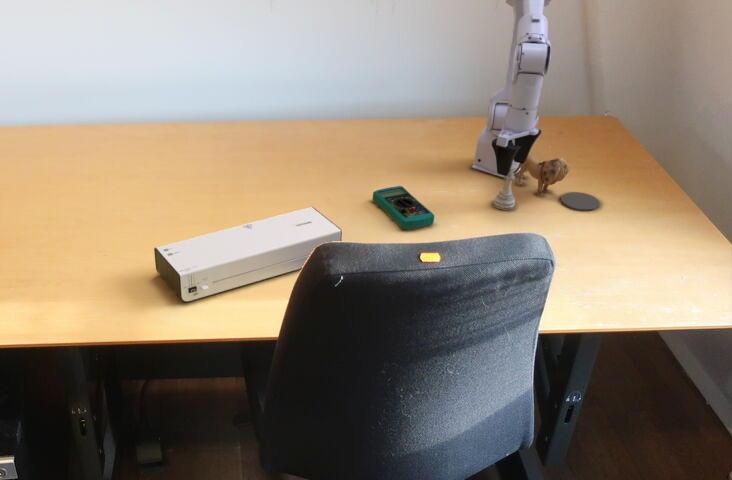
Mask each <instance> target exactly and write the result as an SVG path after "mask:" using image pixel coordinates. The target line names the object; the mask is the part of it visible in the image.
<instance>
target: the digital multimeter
mask: <svg viewBox="0 0 732 480" xmlns="http://www.w3.org/2000/svg"><path fill="white" fill-rule="evenodd" d="M372 201H373V202H374V203H375V204H376V205H378V206H379V207H380V208H381V209H382V210H383V211H384V212H385V213H386V214H387V215H388V216H389V217H390V218H391V219H392V220H393V221H394V222H395V223H396V224H397V225H398V226H399V227H400V228H401V229H402V230H403V231H404V230H411V229H418V228H424V227H426V226H430V225H432V224H434V222H435V221H434V220H435V214H434V213H433V212H432V211H431V210H429V209H428V208H427V207H426V206H425V205H424V204H422V203H421V201H419V200H418V199H416V198H415V196H413V195H412V194H411V193H410V192H409V191H408V190H407V189H406V188H405V187H404V186H402V185H397V186H390V187H385V188H381V189H377V190H375V191H373V192H372Z"/></svg>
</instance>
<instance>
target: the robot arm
mask: <svg viewBox="0 0 732 480" xmlns="http://www.w3.org/2000/svg"><path fill="white" fill-rule="evenodd" d="M551 1H552V0H505V4H507V5H508V6H510V7H512V12H513V22H512V30H511V36H510V37H511V38H510V43H509V46H510V47H509V53H508V59H507V64H506V65H507V66H506V72H505V81H504V86H503V87H502V88H500V89H498V90H497V91H495V92H494V93H493V94H491V96H490V99H489V104H488V107H487V113H486V120H485V127H484V128H483V129H482V130H481V132H480V133H479V135H478V139H477V142H476V147H475V153H474V154H475V155H474V160H473V165H472V166H471V168H472V169H474V170H477V171H480V172H483V173H487V174H491V175H494V176H497V177H500V178H502V179H504V176H507V175H508V173H509V171H510V168H511V165H512V162H513V164H514V165H516V166H517V168H518V166H519V164H520V163H521V164H524V163H525V161H526V159H527V156H528V154H529V155H530V152H531V151H532V150H531V149H532V147H533V146H534V144H535V142H536V141H537V139H538V138H539V137H540V136H541V134H542V130H541V129H539V128H536V127H538V124H539V119H540V116H537V112H538V107H539V102H540V98H541V92H542V86H543V83H544V82H543V81H544V77H545V76H546V75H547V74H548V71H549V68H550V64H551V59H552V44H551V41H550V40H549V21H548V18H547V16H546V15H544V14H543V13H544V8H545V7H547V6H549V5H550V2H551ZM500 101H506V102H500ZM515 170H516V169H515ZM515 170H514V171H515ZM520 170H521V167H520V169H519V170H518V171H517V172H516V173H515V174H514V176H515V175H516V174H518V173H520Z"/></svg>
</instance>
